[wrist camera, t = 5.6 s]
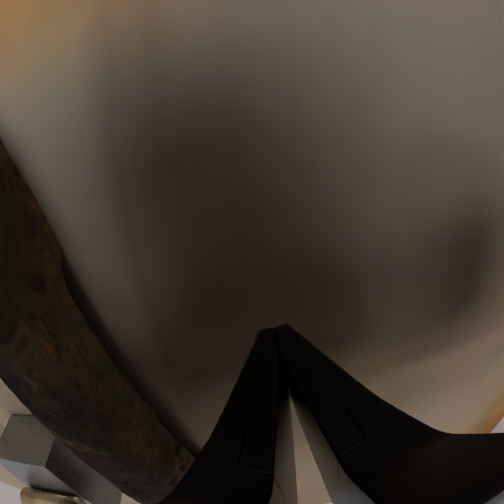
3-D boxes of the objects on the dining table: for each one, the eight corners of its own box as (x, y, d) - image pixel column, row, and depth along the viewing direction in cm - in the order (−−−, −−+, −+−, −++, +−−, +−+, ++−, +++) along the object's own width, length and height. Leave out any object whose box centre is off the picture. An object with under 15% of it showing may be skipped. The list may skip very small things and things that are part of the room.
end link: (62, 416, 11) (36, 492, 7) (124, 478, 13) (115, 541, 9) (11, 414, 11) (-17, 477, 7) (72, 474, 13) (59, 529, 9)
